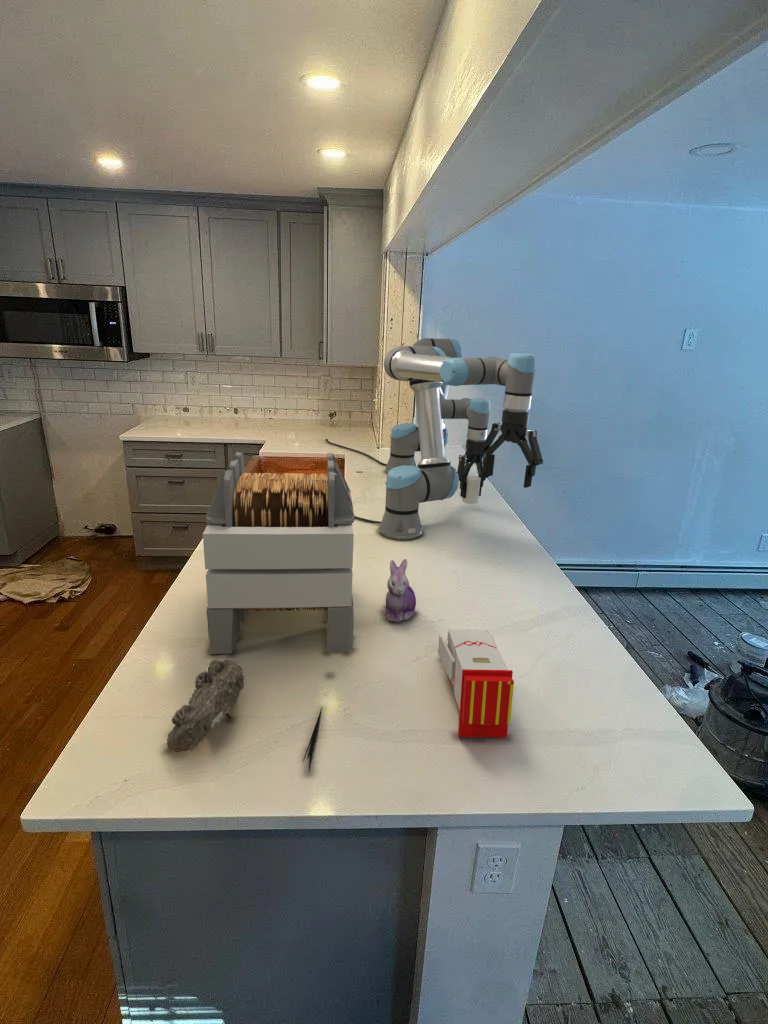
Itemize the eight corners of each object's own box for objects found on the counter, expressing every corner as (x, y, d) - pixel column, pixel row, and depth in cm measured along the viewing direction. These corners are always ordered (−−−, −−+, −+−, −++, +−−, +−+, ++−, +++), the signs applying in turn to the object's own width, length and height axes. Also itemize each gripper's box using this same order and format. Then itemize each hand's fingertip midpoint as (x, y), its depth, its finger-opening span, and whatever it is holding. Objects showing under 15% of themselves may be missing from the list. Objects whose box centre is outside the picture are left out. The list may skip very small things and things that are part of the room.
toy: (488, 613, 130) (523, 677, 101) (484, 667, 133) (517, 744, 104) (435, 612, 130) (455, 676, 101) (432, 666, 133) (451, 743, 103)
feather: (331, 679, 122) (336, 673, 122) (307, 777, 96) (313, 769, 95) (324, 675, 122) (329, 669, 121) (298, 772, 95) (304, 764, 95)
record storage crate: (229, 585, 158) (221, 442, 144) (346, 584, 161) (350, 444, 148) (206, 656, 126) (193, 481, 112) (353, 652, 130) (358, 483, 116)
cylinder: (480, 504, 224) (482, 480, 220) (463, 503, 223) (466, 480, 219) (475, 498, 230) (478, 475, 226) (459, 498, 229) (462, 474, 226)
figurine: (392, 627, 141) (395, 572, 136) (374, 608, 149) (376, 556, 144) (425, 619, 145) (429, 566, 140) (405, 601, 154) (408, 550, 149)
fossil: (192, 660, 117) (244, 628, 112) (224, 691, 120) (276, 661, 115) (142, 746, 98) (202, 712, 93) (182, 779, 101) (242, 748, 96)
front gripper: (562, 415, 156) (551, 489, 163) (488, 402, 172) (481, 469, 180) (547, 418, 151) (537, 494, 158) (473, 404, 167) (466, 473, 175)
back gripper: (460, 443, 210) (455, 501, 218) (502, 439, 219) (495, 496, 227) (449, 438, 216) (444, 495, 224) (491, 435, 225) (484, 490, 233)
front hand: (507, 481), depth 169 cm, fingers open, 13 cm apart
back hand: (470, 495), depth 226 cm, fingers closed on cylinder, 7 cm apart
